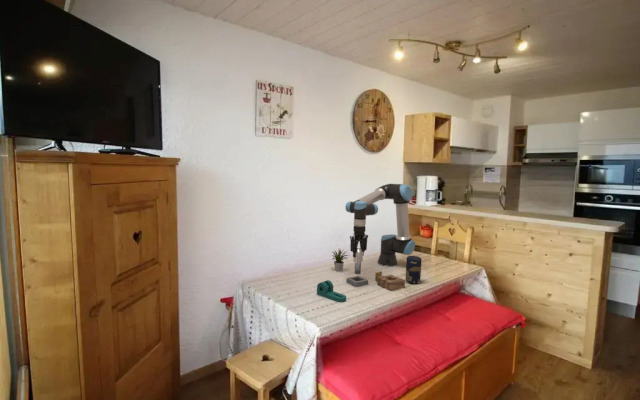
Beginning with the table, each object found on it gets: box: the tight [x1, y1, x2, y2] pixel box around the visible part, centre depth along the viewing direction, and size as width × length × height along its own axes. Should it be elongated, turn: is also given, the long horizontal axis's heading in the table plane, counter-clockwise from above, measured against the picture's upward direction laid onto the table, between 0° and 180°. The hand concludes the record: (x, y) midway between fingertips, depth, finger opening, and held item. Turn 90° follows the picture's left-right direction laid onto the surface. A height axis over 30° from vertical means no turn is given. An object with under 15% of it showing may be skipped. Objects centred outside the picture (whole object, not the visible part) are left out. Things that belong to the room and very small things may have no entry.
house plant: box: [332, 248, 349, 272], centre depth 237 cm, size 14×14×16 cm
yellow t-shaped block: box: [374, 270, 383, 282], centre depth 214 cm, size 10×4×6 cm, turn 33°
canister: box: [405, 255, 422, 285], centre depth 217 cm, size 10×10×18 cm
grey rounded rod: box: [354, 247, 362, 275], centre depth 210 cm, size 4×4×16 cm
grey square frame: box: [345, 275, 369, 288], centre depth 211 cm, size 10×10×3 cm
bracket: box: [316, 280, 347, 303], centre depth 187 cm, size 18×7×8 cm, turn 48°
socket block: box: [376, 274, 406, 292], centre depth 208 cm, size 12×12×5 cm
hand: (358, 261), depth 210 cm, fingers closed on grey rounded rod, 4 cm apart
